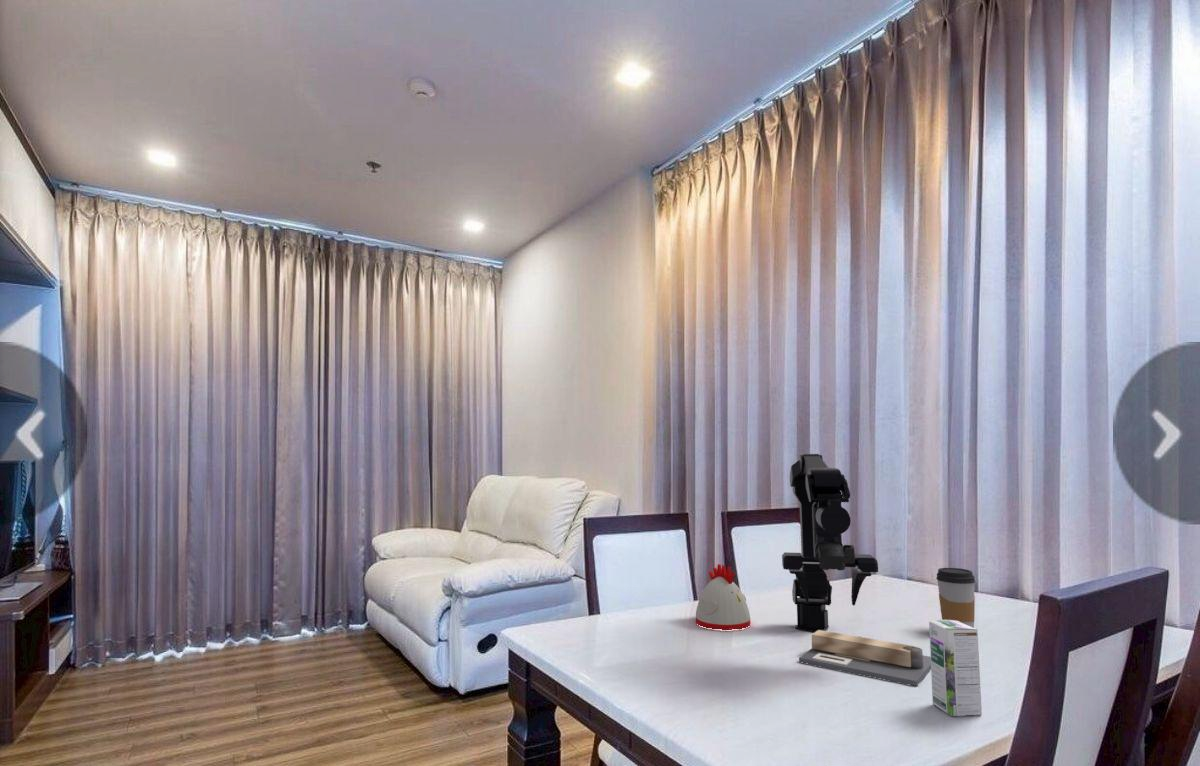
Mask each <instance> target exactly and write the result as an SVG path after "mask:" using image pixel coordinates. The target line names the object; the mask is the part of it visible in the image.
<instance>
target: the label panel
mask: <svg viewBox="0 0 1200 766" xmlns="http://www.w3.org/2000/svg"><path fill="white" fill-rule="evenodd" d="M798 662H803V663H802V664H804V663H808V664H807V665H809V664H812V665H811V666H814V665H816V666H815V667H819V666H821V667H820V668H823V667H825V668H824V669H828V668H830V669H829V670H833V669H835V670H834V671H838V670H841V671H840V672H843V671H844V673H848V672H850V674H853V673H855V674H854V675H858V674H861V675H860V676H863V675H865V676H864V677H867V676H871V677H870V678H872V677H876V678H875V679H877V678H881V679H880V680H882V679H885V680H884V681H887V680H890V681H889V682H892V681H894V683H897V682H900V683H899V684H902V683H904V684H903V685H907V684H910V685H909V686H911V685H914V686H913V687H916V686H917V687H919V685H920V684H921V683H922V681H923V680H924V679H925V677H926V676H927V675H928V674H929V673H930V672H931V656H928V655H924V654H923V667H921V668H913V667H907V666H901V665H896V664H891V663H886V662H880V661H875V660H870V659H864V658H859V657H854V656H848V655H843V654H838V653H833V652H827V651H822V650H817V649H812V648H811V649H810V650H808V651H806V652H805V653H803V654H802V655H801V656H799V657H798ZM920 682H921V683H920ZM919 683H920V684H919ZM918 684H919V685H918ZM915 685H916V686H915Z"/></svg>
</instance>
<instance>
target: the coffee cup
mask: <svg viewBox="0 0 1200 766" xmlns="http://www.w3.org/2000/svg"><path fill="white" fill-rule="evenodd" d="M936 580H937V587H938V599H939V607H940V613H941V620H955V621H959V622H961V623H963V624H965V625H968V626H970V627H972V628H975V613H976V612H975V609H976V608H975V605H976V604H975V603H976V601H975V599H976V598H975V583H976V580H975V575H974V573H973V571H972V570H969V569H966V568H965V569H964V568H958V567H957V568H956V567H941V568H938V569H937V573H936Z"/></svg>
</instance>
